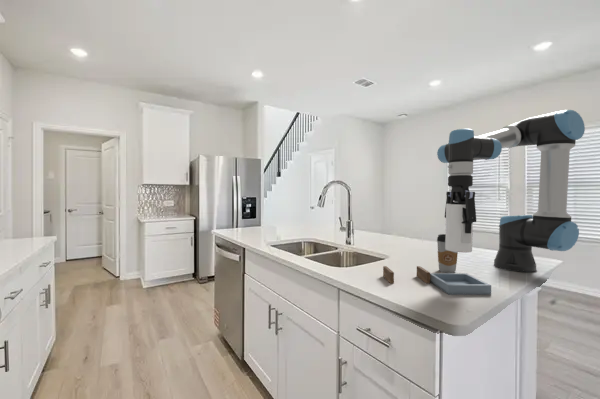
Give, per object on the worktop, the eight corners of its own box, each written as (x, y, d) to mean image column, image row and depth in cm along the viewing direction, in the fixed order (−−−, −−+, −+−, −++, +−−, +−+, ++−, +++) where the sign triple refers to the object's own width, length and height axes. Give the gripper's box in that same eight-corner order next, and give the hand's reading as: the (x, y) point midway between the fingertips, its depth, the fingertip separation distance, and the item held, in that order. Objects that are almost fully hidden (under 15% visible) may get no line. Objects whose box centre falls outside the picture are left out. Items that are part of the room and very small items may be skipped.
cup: (471, 253, 97) (472, 204, 97) (443, 250, 102) (444, 204, 101) (472, 249, 104) (473, 204, 104) (446, 247, 109) (447, 203, 108)
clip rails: (419, 276, 117) (419, 266, 117) (429, 283, 108) (430, 272, 108) (383, 276, 117) (383, 266, 117) (390, 283, 108) (390, 272, 108)
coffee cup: (436, 272, 122) (437, 236, 122) (435, 267, 130) (436, 233, 130) (459, 274, 119) (460, 237, 119) (457, 269, 127) (457, 234, 126)
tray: (466, 281, 111) (466, 273, 111) (491, 294, 97) (491, 285, 97) (429, 281, 110) (429, 273, 110) (448, 294, 96) (448, 285, 96)
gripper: (435, 176, 113) (433, 236, 113) (467, 173, 92) (465, 246, 92) (454, 176, 113) (453, 236, 114) (491, 173, 92) (489, 246, 93)
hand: (458, 240), depth 103 cm, fingers closed on cup, 8 cm apart
